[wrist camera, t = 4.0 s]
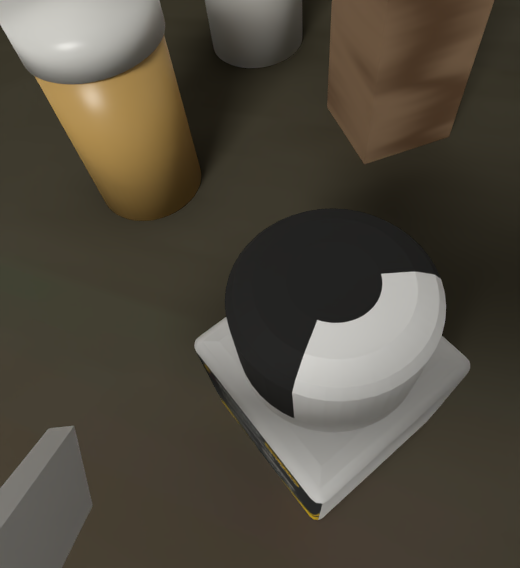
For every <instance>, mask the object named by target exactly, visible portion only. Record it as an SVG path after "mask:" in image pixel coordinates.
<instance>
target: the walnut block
mask: <svg viewBox="0 0 520 568" xmlns="http://www.w3.org/2000/svg"><path fill="white" fill-rule="evenodd" d="M493 3H494V0H332V11H331V34H330V56H329V79H328V101H327V107H328V109H329V110H330V112H331V114H332V115H333V117H334V118H335V120H336V121H337V123H338V124H339V126H340V127H341V129H342V130H343V132H344V133H345V135H346V137H347V138H348V140H349V141H350V143H351V144H352V146H353V147H354V149H355V150H356V152H357V153H358V155H359V157H360V158H361V160H362V161H363V163H364V164H367V163H370V162H373V161H376V160H379V159H382V158H385V157H388V156H391V155H395V154H398V153H401V152H404V151H407V150H410V149H413V148H416V147H419V146H422V145H425V144H428V143H431V142H434V141H437V140H441V139H444V138H447V137H449V135H450V132H451V129H452V126H453V123H454V120H455V117H456V114H457V111H458V108H459V105H460V102H461V99H462V96H463V93H464V90H465V87H466V84H467V81H468V78H469V75H470V72H471V69H472V66H473V63H474V60H475V57H476V54H477V51H478V48H479V45H480V42H481V39H482V36H483V33H484V30H485V27H486V24H487V21H488V18H489V15H490V12H491V9H492V6H493Z"/></svg>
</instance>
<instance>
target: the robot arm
mask: <svg viewBox="0 0 520 568" xmlns="http://www.w3.org/2000/svg"><path fill="white" fill-rule="evenodd" d="M92 506H93V505H92V501H91V497H90V492H89V488H88V483H87V479H86V475H85V470H84V466H83V462H82V457H81V453H80V449H79V444H78V440H77V436H76V431H75V427H74V426H67V427H58V428H49V429H48V430H47V431H46V432H45V434H44V435H43V436H42V437H41V439H40V440H39V441H38V442H37V444H36V445H35V446H34V447H33V449H32V450H31V451H30V452H29V453H28V455H27V456H26V457H25V458H24V460H23V461H22V462H21V463H20V465H19V466H18V467H17V468H16V470H15V471H14V472H13V473H12V475H11V476H10V477H9V478H8V479H7V481H6V482H5V483H4V484H3V486H2V487H1V488H0V568H62V567H63V565H64V562H65V560H66V558H67V556H68V554H69V552H70V550H71V548H72V546H73V544H74V542H75V540H76V538H77V536H78V534H79V532H80V530H81V528H82V526H83V524H84V522H85V520H86V518H87V516H88V514H89V512H90V510H91V508H92Z"/></svg>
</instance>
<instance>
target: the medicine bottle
mask: <svg viewBox="0 0 520 568" xmlns="http://www.w3.org/2000/svg"><path fill="white" fill-rule="evenodd" d="M225 310H226V317H225V318H224V319H223V320H221V321H220V322H218V323H217V324H216V325H214V326H213V327H212V328H210V329H209V330H207V331H206V332H205V333H203V334H202V335H201V336H199V337H198V338H197V339H196V340H195V345H194V347H195V350H196V352H197V354H198V356H199V358H200V360H201V362H202V364H203V366H204V368H205V369H206V371H207V373H208V375H209V377H210V379H211V381H212V383H213V385H214V387H215V388H216V390H217V392H218V394H219V396H220V398H221V400H222V402H223V403H224V404H225V406H226V407H227V408H228V410H229V411H230V412H231V414H232V415H233V416H234V418H235V419H236V420H237V422H238V423H239V424H240V425H241V427H242V428H243V429H244V431H245V432H246V433H247V435H248V436H249V437H250V439H251V440H252V441H253V442H254V444H255V445H256V446H257V448H258V449H259V450H260V452H261V453H262V454H263V456H264V457H265V458H266V460H267V461H268V462H269V463H270V465H271V466H272V467H273V469H274V470H275V471H276V473H277V474H278V475H279V477H280V478H281V479H282V481H283V482H284V483H285V484H286V486H287V487H288V488H289V490H290V491H291V492H292V494H293V495H294V496H295V498H296V499H297V500H298V502H299V503H300V504H301V505H302V507H303V508H304V509H305V511H306V512H307V513H308V515H309V516H310V517H311V518H313V519H314V520H319V519H321V518H323V517H324V516H325V515H326V514H327V513H328V512H329V511H330V510H332V509H333V508H334V507H335V506H336V505H337V504H338V503H339V502H340V501H341V500H342V499H343V498H345V497H346V496H347V495H348V494H349V493H350V492H351V491H352V490H353V489H354V488H355V487H356V486H358V485H359V484H360V483H361V482H362V481H363V480H364V479H365V478H366V477H367V476H368V475H369V474H371V473H372V472H373V471H374V470H375V469H376V468H377V467H378V466H379V465H380V464H381V463H382V462H384V461H385V460H386V459H387V458H388V457H389V456H390V455H391V454H392V453H393V452H394V451H395V450H397V449H398V448H399V447H400V446H401V445H402V444H403V443H404V442H405V441H406V440H407V439H408V438H410V437H411V436H412V435H413V434H414V433H415V432H416V431H417V430H418V429H419V428H420V427H421V426H423V425H424V424H425V423H426V422H427V421H428V420H429V418H430V417H431V416H432V415H433V414H434V413H435V411H436V410H437V409H438V408H439V407H440V405H441V404H442V403H443V402H444V401H445V400H446V398H447V397H448V396H449V395H450V394H451V392H452V391H453V390H454V389H455V388H456V386H457V385H458V384H459V383H460V382H461V381H462V379H463V378H464V377H465V376H466V375H467V373H468V372H469V370H470V362H469V360H468V359H467V358H466V357H465V356H464V355H463V354H462V353H461V352H460V351H459V350H457V349H456V348H455V347H454V346H453V345H452V344H451V343H450V342H449V341H447V340H446V339H445V338H444V337H443V336H442V332H443V328H444V324H445V318H446V300H445V292H444V288H443V284H442V281H441V278H440V276H439V273H438V271H437V269H436V267H435V265H434V264H433V262H432V260H431V259H430V257H429V256H428V254H427V253H426V252H425V251H424V250H423V248H422V247H421V246H420V245H419V244H418V243H417V242H416V241H415V240H414V239H413V238H411V237H410V236H409V235H408V234H406V233H405V232H404V231H402V230H401V229H399V228H398V227H396V226H394V225H392V224H391V223H389V222H387V221H385V220H383V219H380V218H378V217H375V216H373V215H370V214H366V213H363V212H359V211H353V210H347V209H318V210H312V211H306V212H303V213H299V214H296V215H292V216H290V217H287V218H285V219H282V220H280V221H278V222H276V223H275V224H273V225H271V226H269V227H268V228H266V229H265V230H263V231H262V232H261V233H259V234H258V235H257V236H256V237H255V238H254V239H253V240H252V241H251V242H250V243H248V245H247V246H246V247H245V248H244V250H243V251H242V252H241V253H240V255H239V257H238V258H237V260H236V262H235V263H234V265H233V268H232V270H231V273H230V275H229V278H228V282H227V287H226V294H225Z"/></svg>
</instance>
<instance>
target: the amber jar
mask: <svg viewBox="0 0 520 568" xmlns="http://www.w3.org/2000/svg"><path fill="white" fill-rule="evenodd" d="M0 25H1V26H2V28H3V30H4V32H5V33H6V35H7V37H8V39H9V40H10V42H11V44H12V46H13V47H14V49H15V51H16V53H17V55H18V56H19V58H20V60H21V62H22V63H23V65H24V67H25V68H26V69H27V70H28V71H29V72H30V73H31V74H32V75H34V76H35V77H36V79H37V81H38V83H39V85H40V86H41V88H42V90H43V92H44V94H45V95H46V97H47V99H48V101H49V102H50V104H51V106H52V108H53V110H54V111H55V113H56V115H57V117H58V119H59V120H60V122H61V124H62V126H63V127H64V129H65V131H66V133H67V135H68V136H69V138H70V140H71V142H72V144H73V145H74V147H75V149H76V151H77V153H78V154H79V156H80V158H81V160H82V161H83V163H84V165H85V167H86V169H87V170H88V172H89V174H90V176H91V178H92V179H93V181H94V183H95V185H96V186H97V188H98V190H99V192H100V194H101V195H102V197H103V199H104V201H105V203H106V204H107V206H108V207H109V208H110V209H111V210H112V211H113V212H114V213H116V214H117V215H119V216H121V217H123V218H126V219H130V220H136V221H148V220H155V219H159V218H163V217H166V216H168V215H171V214H173V213H175V212H176V211H178V210H180V209H181V208H182V207H184V206H185V205H186V204H187V203H188V202H189V201H190V200H191V199H192V198H193V197H194V195H195V194H196V192H197V190H198V188H199V186H200V182H201V169H200V166H199V162H198V158H197V154H196V151H195V147H194V143H193V140H192V136H191V132H190V129H189V125H188V121H187V118H186V114H185V110H184V106H183V103H182V99H181V95H180V92H179V88H178V84H177V81H176V77H175V73H174V70H173V66H172V62H171V59H170V55H169V51H168V47H167V44H166V40H165V36H164V32H165V20H164V17H163V13H162V9H161V5H160V1H159V0H0Z"/></svg>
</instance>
